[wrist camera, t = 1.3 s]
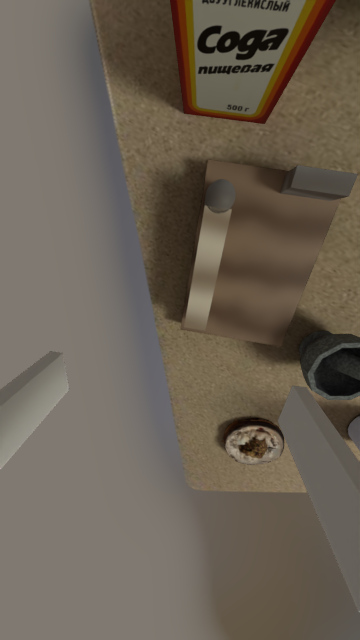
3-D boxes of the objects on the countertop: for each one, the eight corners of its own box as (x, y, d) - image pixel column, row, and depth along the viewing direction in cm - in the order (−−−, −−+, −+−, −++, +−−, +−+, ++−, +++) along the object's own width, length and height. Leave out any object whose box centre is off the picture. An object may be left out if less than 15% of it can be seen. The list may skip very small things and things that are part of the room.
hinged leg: (207, 184, 23) (208, 176, 21) (234, 188, 23) (239, 181, 21) (184, 318, 30) (183, 326, 28) (205, 322, 30) (205, 330, 28)
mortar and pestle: (284, 370, 35) (322, 431, 24) (290, 323, 32) (338, 368, 21) (353, 369, 34) (426, 432, 23) (367, 319, 31) (461, 365, 20)
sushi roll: (292, 411, 39) (302, 429, 36) (282, 459, 45) (290, 480, 41) (217, 409, 41) (219, 427, 37) (217, 456, 47) (218, 476, 43)
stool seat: (207, 166, 25) (209, 148, 20) (334, 185, 25) (369, 172, 19) (181, 323, 34) (178, 338, 29) (275, 339, 33) (288, 357, 28)
